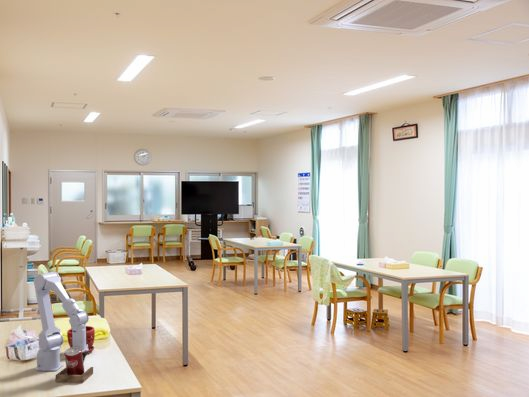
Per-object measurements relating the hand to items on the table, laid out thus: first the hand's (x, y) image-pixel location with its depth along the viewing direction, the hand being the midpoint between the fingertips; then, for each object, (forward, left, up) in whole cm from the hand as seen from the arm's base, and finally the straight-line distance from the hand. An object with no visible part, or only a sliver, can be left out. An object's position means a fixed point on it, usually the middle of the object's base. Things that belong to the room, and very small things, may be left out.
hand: (79, 369), depth 247 cm
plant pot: (-12, +30, -2) cm, 33 cm away
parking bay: (0, -5, -2) cm, 5 cm away
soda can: (0, -4, -1) cm, 4 cm away
